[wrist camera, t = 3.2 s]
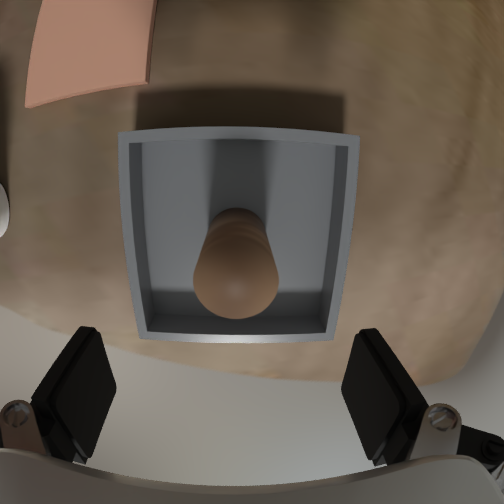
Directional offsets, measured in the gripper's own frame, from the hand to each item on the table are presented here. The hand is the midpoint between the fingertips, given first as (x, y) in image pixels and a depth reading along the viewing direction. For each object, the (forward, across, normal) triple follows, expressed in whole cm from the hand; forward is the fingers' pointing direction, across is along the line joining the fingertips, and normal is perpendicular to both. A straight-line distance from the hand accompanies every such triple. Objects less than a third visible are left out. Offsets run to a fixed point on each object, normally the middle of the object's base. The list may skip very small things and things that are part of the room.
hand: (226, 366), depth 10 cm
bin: (+14, 0, -1) cm, 15 cm away
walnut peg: (+14, 0, -1) cm, 14 cm away
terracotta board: (+14, +12, -19) cm, 27 cm away
